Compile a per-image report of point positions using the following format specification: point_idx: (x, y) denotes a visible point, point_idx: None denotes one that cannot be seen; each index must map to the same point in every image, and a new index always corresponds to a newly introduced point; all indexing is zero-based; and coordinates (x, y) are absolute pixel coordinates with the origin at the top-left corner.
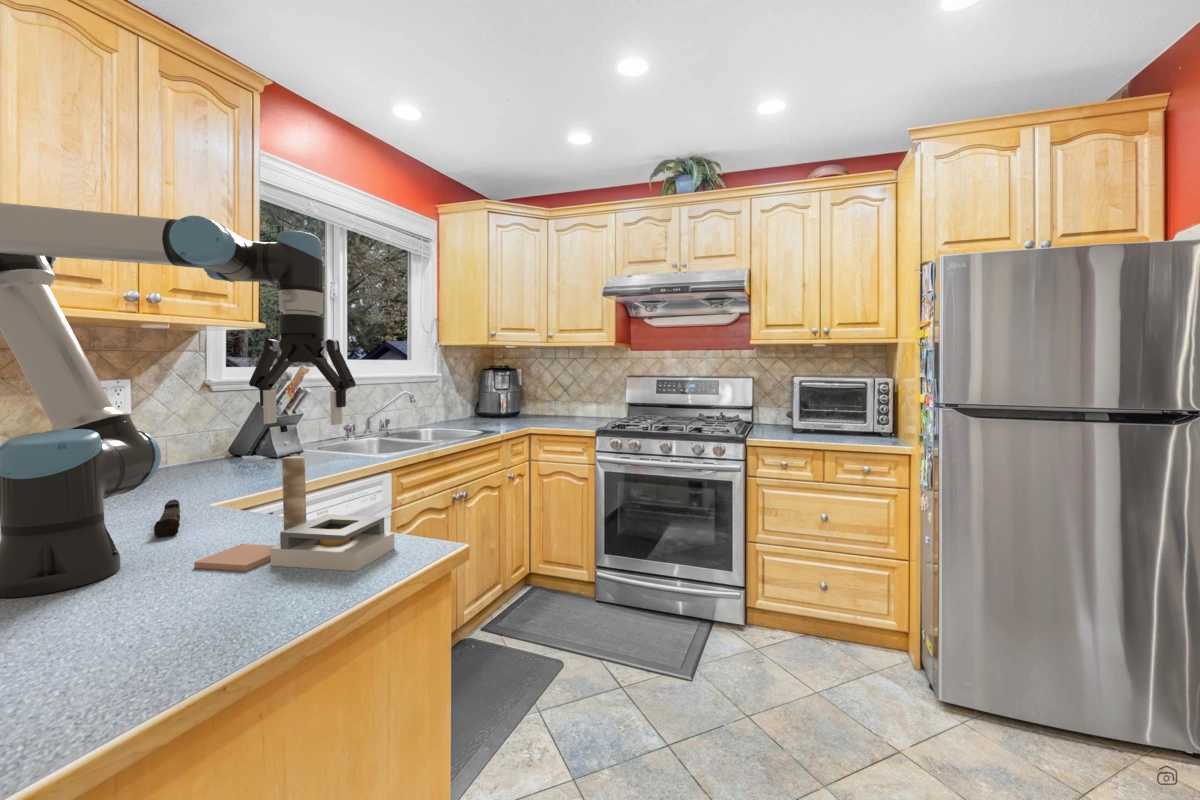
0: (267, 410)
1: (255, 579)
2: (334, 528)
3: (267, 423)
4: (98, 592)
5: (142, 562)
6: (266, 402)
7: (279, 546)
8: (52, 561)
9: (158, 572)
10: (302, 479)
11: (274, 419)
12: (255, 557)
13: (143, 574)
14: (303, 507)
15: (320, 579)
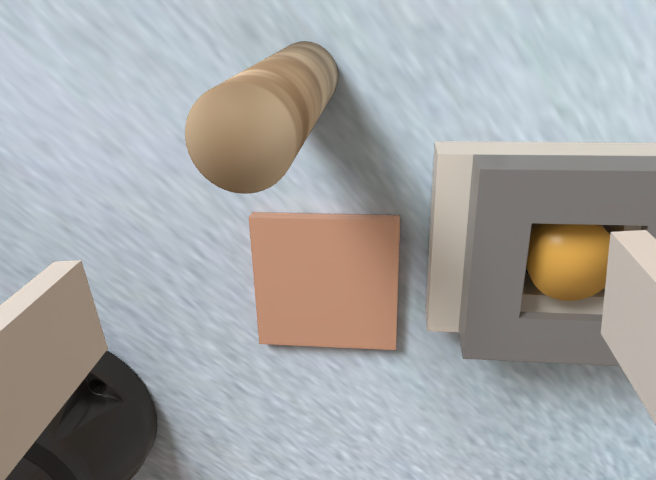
0: (57, 409)
1: (452, 376)
2: (551, 230)
3: (105, 347)
4: (213, 446)
5: (116, 319)
6: (12, 461)
7: (440, 315)
8: None
9: (214, 363)
10: (311, 117)
11: (73, 293)
12: (374, 304)
13: (196, 374)
14: (327, 93)
15: (600, 365)
